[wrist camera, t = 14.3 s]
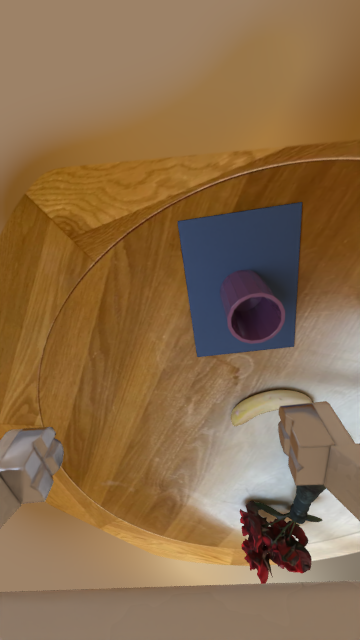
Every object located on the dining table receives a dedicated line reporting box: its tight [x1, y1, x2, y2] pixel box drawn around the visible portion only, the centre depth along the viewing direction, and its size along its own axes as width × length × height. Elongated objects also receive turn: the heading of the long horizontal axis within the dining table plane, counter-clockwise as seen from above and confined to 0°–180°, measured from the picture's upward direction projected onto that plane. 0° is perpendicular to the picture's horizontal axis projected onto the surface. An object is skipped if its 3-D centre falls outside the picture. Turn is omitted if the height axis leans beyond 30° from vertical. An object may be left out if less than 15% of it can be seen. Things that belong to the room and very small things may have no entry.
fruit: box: [231, 390, 312, 426], centre depth 49 cm, size 7×15×3 cm, turn 98°
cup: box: [220, 270, 285, 344], centre depth 36 cm, size 7×7×9 cm
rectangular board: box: [178, 202, 302, 357], centre depth 40 cm, size 22×16×1 cm
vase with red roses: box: [240, 485, 326, 584], centre depth 57 cm, size 16×18×35 cm
